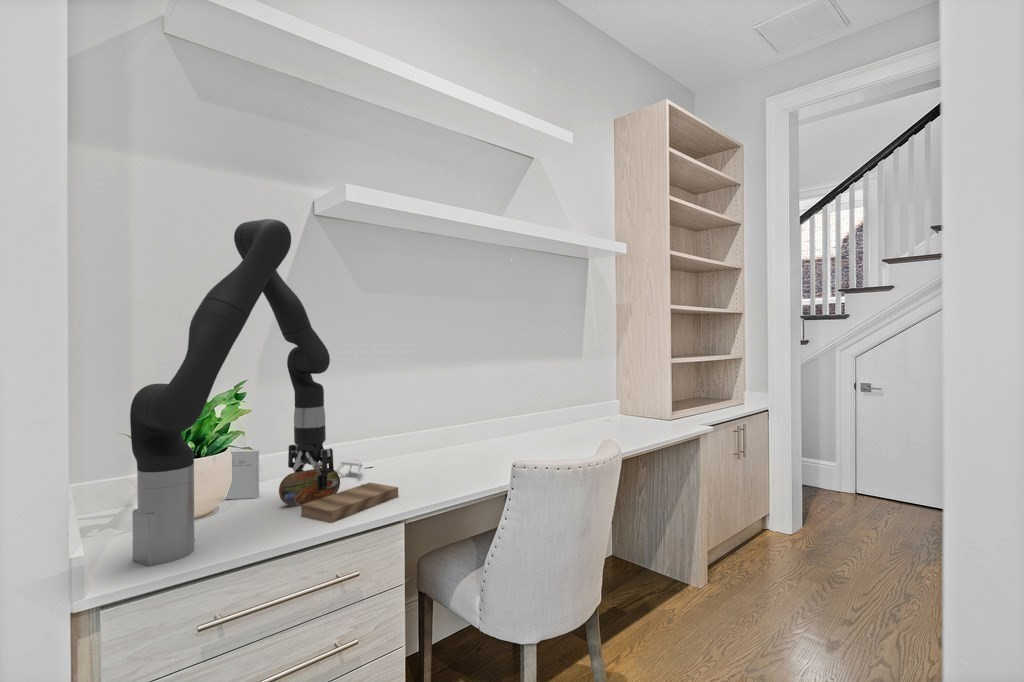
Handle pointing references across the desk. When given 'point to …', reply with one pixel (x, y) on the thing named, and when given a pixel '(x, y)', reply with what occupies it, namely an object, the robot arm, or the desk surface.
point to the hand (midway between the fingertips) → (310, 487)
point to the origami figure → (349, 462)
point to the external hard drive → (244, 475)
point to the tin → (306, 487)
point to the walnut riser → (348, 502)
